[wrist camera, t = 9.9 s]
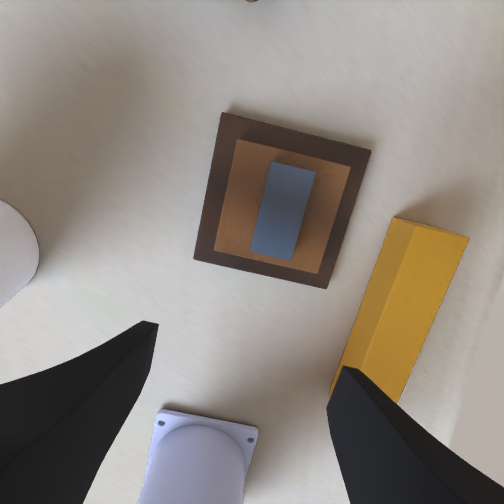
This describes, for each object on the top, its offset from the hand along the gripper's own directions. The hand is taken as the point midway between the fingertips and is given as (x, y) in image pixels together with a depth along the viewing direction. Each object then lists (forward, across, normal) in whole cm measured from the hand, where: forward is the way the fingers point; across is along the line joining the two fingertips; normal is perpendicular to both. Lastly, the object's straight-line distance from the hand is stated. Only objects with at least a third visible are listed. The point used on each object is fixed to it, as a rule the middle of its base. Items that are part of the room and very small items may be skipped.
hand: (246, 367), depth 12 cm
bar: (+10, -10, +1) cm, 14 cm away
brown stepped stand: (+10, -1, -5) cm, 11 cm away
